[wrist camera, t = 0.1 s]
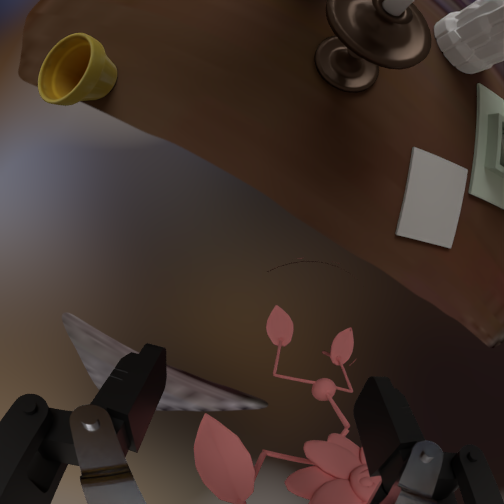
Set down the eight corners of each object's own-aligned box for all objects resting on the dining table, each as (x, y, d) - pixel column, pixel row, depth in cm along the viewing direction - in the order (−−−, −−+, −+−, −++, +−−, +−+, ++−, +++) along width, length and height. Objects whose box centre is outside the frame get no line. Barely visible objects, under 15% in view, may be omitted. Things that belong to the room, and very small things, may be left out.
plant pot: (67, 108, 34) (28, 101, 24) (88, 52, 31) (53, 35, 21) (114, 115, 34) (75, 105, 25) (137, 53, 31) (106, 30, 22)
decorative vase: (454, 77, 29) (564, 43, 5) (423, 22, 26) (509, -42, 2) (488, 70, 27) (584, 47, 3) (460, 19, 24) (541, -26, 1)
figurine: (360, 368, 44) (423, 546, 10) (221, 320, 42) (154, 551, 9) (408, 294, 40) (545, 455, 6) (260, 229, 38) (230, 504, 5)
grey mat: (412, 147, 33) (414, 147, 33) (465, 169, 33) (467, 169, 33) (395, 233, 37) (396, 234, 36) (448, 247, 37) (450, 248, 36)
